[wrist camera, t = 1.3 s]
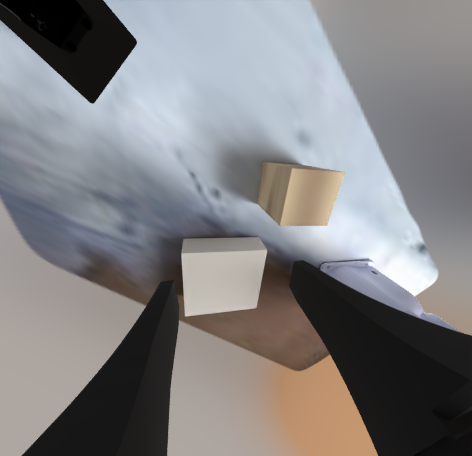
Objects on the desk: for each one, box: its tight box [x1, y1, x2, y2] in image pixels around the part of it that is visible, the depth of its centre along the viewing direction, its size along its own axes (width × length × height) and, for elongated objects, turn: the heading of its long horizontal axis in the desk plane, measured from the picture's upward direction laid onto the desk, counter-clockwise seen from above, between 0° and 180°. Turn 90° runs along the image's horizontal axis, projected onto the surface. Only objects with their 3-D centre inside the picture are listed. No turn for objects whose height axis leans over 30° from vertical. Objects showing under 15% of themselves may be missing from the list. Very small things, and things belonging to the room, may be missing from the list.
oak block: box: [258, 162, 345, 226], centre depth 16 cm, size 4×4×6 cm
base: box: [181, 237, 267, 316], centre depth 21 cm, size 9×9×3 cm
